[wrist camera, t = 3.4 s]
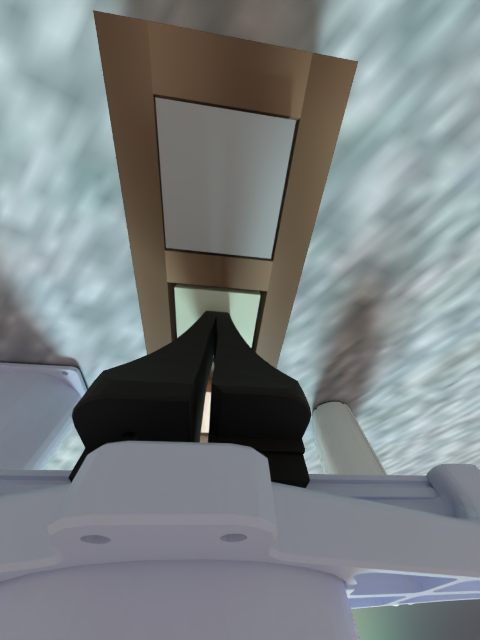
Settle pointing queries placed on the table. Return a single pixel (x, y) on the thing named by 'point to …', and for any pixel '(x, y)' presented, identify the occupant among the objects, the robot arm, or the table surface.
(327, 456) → the white rounded slab
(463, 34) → the table surface
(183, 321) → the sage key
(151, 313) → the keyboard
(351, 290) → the table surface
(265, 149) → the slate key
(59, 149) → the table surface
